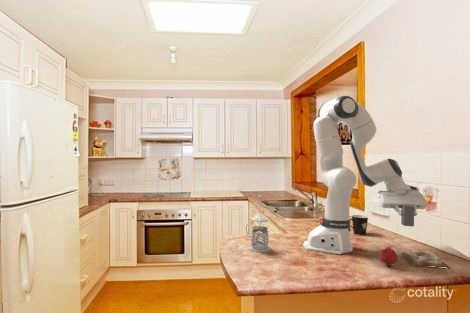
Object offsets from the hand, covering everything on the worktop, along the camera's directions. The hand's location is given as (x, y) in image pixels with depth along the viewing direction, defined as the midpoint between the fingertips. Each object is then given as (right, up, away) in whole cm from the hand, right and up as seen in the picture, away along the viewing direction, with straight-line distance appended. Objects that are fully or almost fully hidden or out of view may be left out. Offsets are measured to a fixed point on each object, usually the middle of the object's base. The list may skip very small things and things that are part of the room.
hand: (408, 215), depth 130 cm
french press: (-69, -17, +3) cm, 71 cm away
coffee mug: (-10, -18, +32) cm, 38 cm away
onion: (-18, -17, -17) cm, 30 cm away
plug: (0, -5, +1) cm, 5 cm away
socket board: (0, -17, -11) cm, 21 cm away
